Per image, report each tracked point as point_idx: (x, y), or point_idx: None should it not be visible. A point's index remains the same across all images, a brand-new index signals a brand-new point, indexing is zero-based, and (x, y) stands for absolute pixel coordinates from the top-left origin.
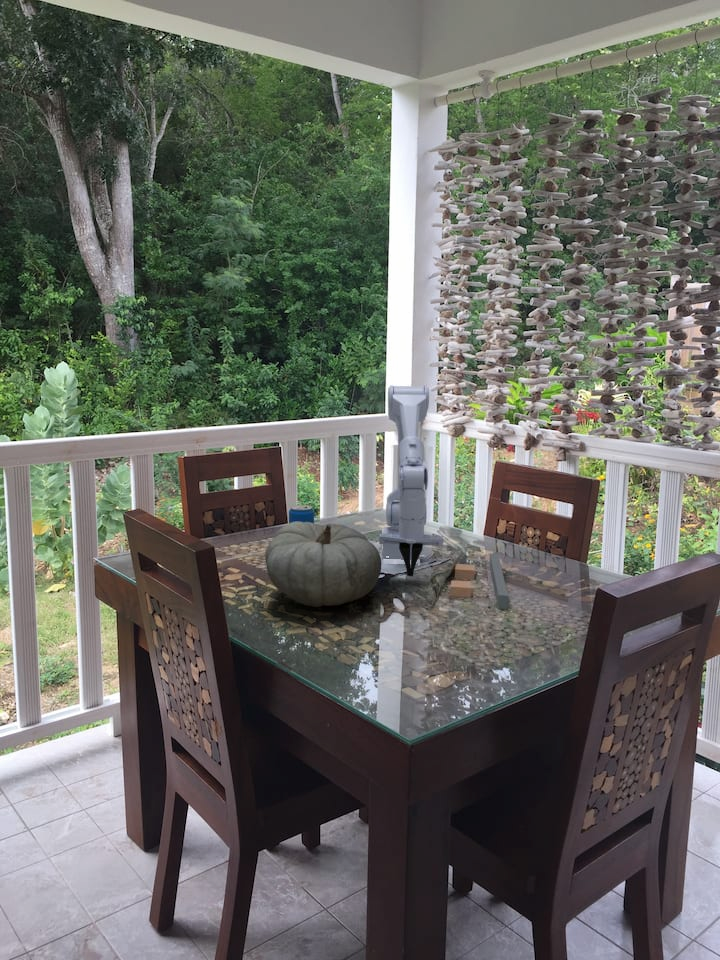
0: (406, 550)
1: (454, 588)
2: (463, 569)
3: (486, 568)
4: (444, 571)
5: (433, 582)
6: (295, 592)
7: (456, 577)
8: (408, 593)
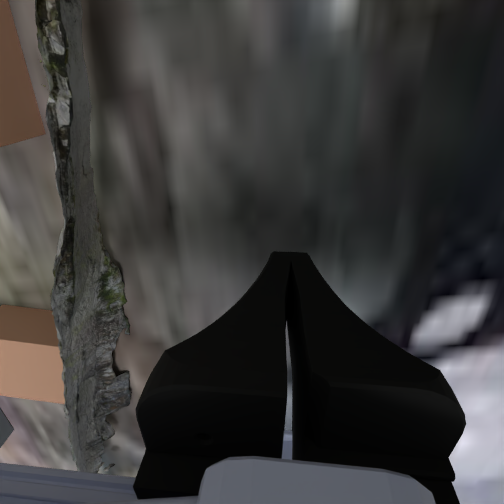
0: (357, 372)
1: None
2: (20, 344)
3: (11, 408)
4: (57, 256)
5: None
6: None
7: None
8: (305, 6)
